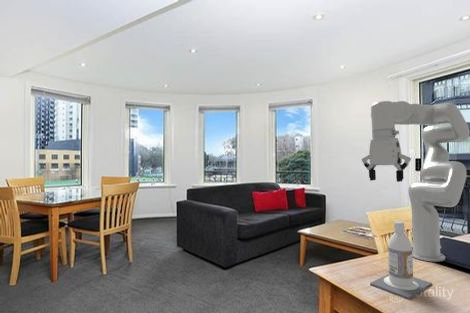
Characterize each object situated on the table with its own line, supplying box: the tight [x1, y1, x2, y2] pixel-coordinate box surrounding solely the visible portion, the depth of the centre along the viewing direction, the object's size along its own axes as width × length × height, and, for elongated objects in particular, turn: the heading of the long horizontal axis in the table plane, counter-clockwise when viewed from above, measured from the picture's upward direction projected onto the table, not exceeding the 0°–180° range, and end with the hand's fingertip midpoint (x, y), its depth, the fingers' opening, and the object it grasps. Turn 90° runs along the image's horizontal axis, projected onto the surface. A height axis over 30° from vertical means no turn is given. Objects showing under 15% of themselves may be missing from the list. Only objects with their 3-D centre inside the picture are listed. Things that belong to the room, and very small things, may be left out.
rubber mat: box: [369, 273, 433, 300], centre depth 92 cm, size 16×12×1 cm
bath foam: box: [387, 220, 414, 286], centre depth 92 cm, size 7×7×20 cm
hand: (385, 180), depth 103 cm, fingers open, 9 cm apart
